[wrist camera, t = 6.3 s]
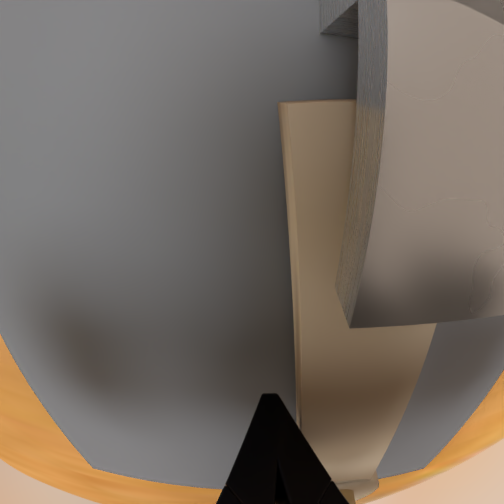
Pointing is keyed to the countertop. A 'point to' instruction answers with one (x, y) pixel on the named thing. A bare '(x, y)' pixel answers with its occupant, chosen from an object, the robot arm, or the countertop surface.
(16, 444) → the countertop surface
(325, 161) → the link
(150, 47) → the board
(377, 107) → the block
